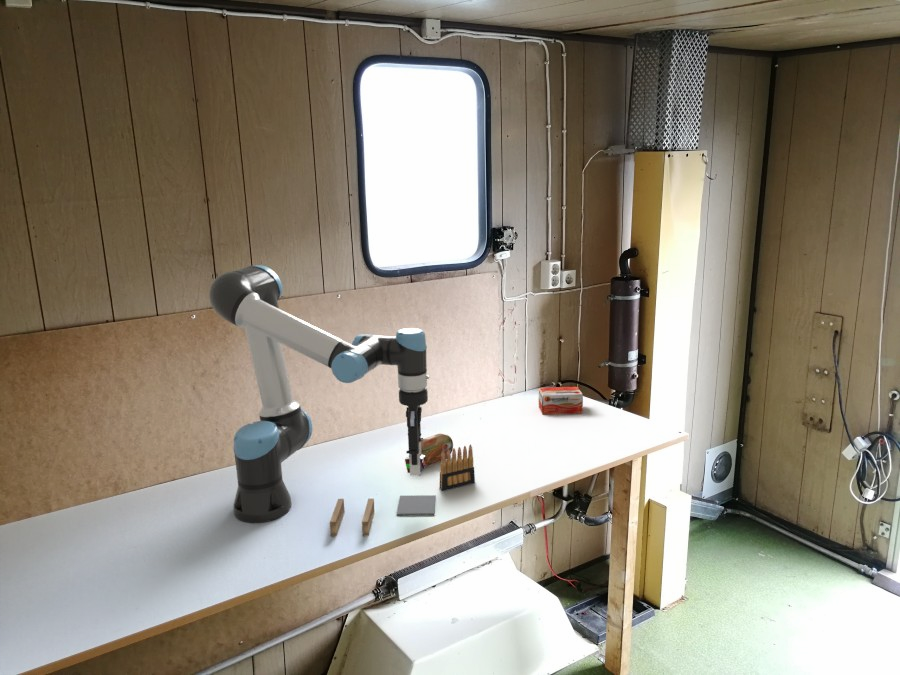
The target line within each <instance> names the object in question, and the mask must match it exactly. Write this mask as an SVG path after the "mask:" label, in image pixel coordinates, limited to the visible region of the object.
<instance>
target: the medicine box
mask: <svg viewBox="0 0 900 675" xmlns="http://www.w3.org/2000/svg"><path fill="white" fill-rule="evenodd" d="M538 390H539V391H538V408H539V410H540V412H541V415H578V414H579V415H580V414H582V412H583V406H584V398H583V397H584V396H583V392H582V391H581V390H580V388H579V386H560V387H559V386H558V387H557V386H555V387H539V389H538Z"/></svg>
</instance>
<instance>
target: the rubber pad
mask: <svg viewBox="0 0 900 675" xmlns="http://www.w3.org/2000/svg"><path fill="white" fill-rule="evenodd" d="M436 498H437V496H436V494H435V495H426V494H425V495H424V494H423V495H419V494H418V495H416V494H415V495H400V496H399V500H398V503H397V510H396V516H400V517H401V516H403V517H404V516H405V517H406V516H411V517H412V516H421V517H423V516H435V512H436V502H437V501H436Z"/></svg>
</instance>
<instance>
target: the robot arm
mask: <svg viewBox="0 0 900 675" xmlns="http://www.w3.org/2000/svg"><path fill="white" fill-rule="evenodd" d="M282 284H283V283H282V281H281V279H280V277H279V275H278V274H277V273H276V271H274V270H273V269H271V268H270V267H268V266H266V265H259V264H258V265H257V264H256V265H249V266H248V265H247V266H244V267H242V268H238V269H234V270H232V271H227V272H224V273H221V274H219V275H218V276H217V277H216V278H215V279H214V280H213V281H212V283H211V284H210V287H209V292H208V299H209V303H210V305H211V307H212V309H213V310H214V311H215V313H216V314H217V315H218V316H220V317H221V318H222V319H224V320H225V321H227V322H229V323H230V324H232V325H235V326H236V327H238V328H244V332H245V336H246V340H247V344H248V348H249V352H250V357H251V361H252V365H253V370H254V375H255V379H256V383H257V387H258V392H259V396H260V399H261V405H262V407H261V409H260V411H259V412H258V416H259V421H254V422H252V423H247V424H245V425H243V426H241V427H240V428H239V429H238V430H237V431H236V432H235V434H234V436H233V446H232V448H233V453H234V460H235V468H236V478H237V489H236V492H235V497H234V500H233V501H234V502H233V514H234V517H235V518H236V519H237V520H239V521H242V522H245V523H266V522H270V521H273V520H276V519H279V518H280V517H283V516H284V515H285V514H287V513H288V512H289V511H290V510H291V508H292V498H291V495H290V492H289V491H288V488H287V486H286V484H285V482H284V480H283V470H282V463H284V461H285V460H287V459H289V457H291V456H292V455H294V454H295V453H296V452H297V451H300V450H301V449H302V448H304V447H305V445H306V444H307V443H308V442H309V440H310V439H311V436H312V433H313V422H312V419H311V417H310V415H309V414H308V413H306V411H305V410H304V409H303V408H301V404H300V402H299V401H297V400H295V399H294V397H293V391H292V389H291V388H292V386H291V383H290V379H289V374H288V370H287V365H286V361H285V356H284V351H283V346H282V345H284V346H285V347H287V348H290V349H292V350H293V351H295V352H298V353H300V354H301V355H303V356H306V357H307V358H309V359H311V360H314V361H316V362H318V363H319V364H322V365H324V366H326V367H328V368H329V369H331V372H332V375H333V376H334V377H335V378H336V380H338V381H339V382H340V383H345V384H352V383H354V382H356V381H358V380H361V379H363V377H365V375H367V374H368V373H369V372H371V371H372V370H374V369H375V368H377V367H378V366H379V365H385V366H397V386H398V402H399V404H401V405H402V406H406V410H405V418H406V427H407V440H408V441H407V443H408V444H407V445H408V450H406V454H408V457H409V461H410V473H409V475H410V476H421V473H420V454H421V442H419V441H423V439H424V437H422V433H421V432H422V431H421V429H422V428H421V421H422V411H423V409H422V408H423V407H422V405H425V404H426V403H428V401H429V400H428V399H429V398H428V397H429V396H428V395H429V394H428V388H427V386H428V380H429V379H430V375H428V373H427V371H428V370H427V343H426V342H427V340H426V333H425V332H424V330H422V329H420V328H416V327H415V328H414V327H408V328H406V327H405V328H402V329H398V330H397V331H396V333H395V336H390V335H380V334H373V333H372V334H370V333H367V334H358V335H356V336H354V338H353V340H352V342H351V343H349V342H347V341H345V340H342V339H341V338H339V337H338V336H335V335H332V334H331V333H329V332H327V331H325V330H323V329H320V328H318V327H317V326H316V325H315V326H314V325H313V324H310V323H309V322H306V321H304V320H303V319H301V318H298V317H296V316H294V315H293V314H291V313H288V312H286V311H284V310H282V309H280V307H279V303H278V301H280V298H281V296H282V294H283V285H282Z"/></svg>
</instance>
